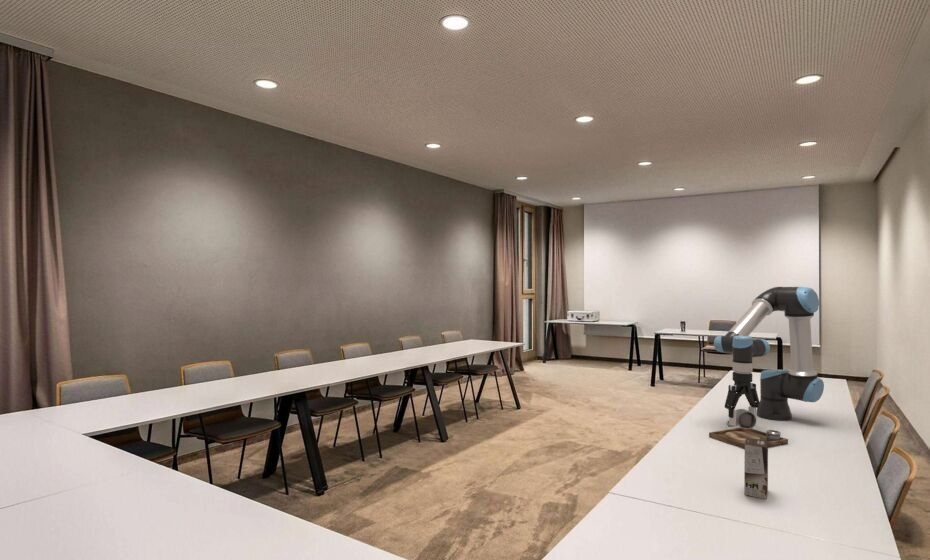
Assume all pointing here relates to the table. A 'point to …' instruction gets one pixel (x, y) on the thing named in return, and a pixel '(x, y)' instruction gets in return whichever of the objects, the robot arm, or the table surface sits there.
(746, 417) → the ceramic mug
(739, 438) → the tray
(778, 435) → the sugar tin
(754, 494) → the coffee box
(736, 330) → the robot arm
